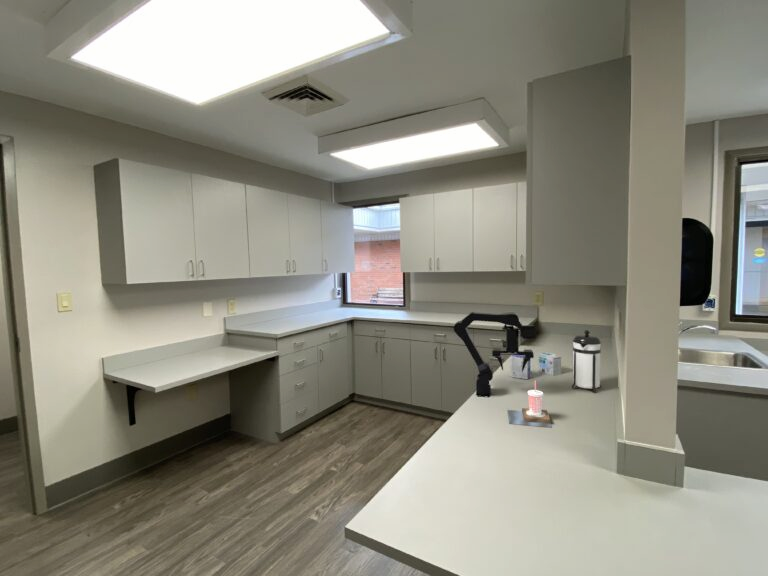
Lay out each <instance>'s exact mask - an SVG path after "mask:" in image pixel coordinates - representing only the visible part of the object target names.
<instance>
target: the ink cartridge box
mask: <svg viewBox="0 0 768 576" xmlns="http://www.w3.org/2000/svg"><path fill="white" fill-rule="evenodd" d="M522 363H523V355H510V376H511V378H515V377H516V378H517V379H521V378H522V379H523V380H529V379H531V359H530V360H528V361H527V363H526V365H525V367H524V370H523V371H522ZM516 378H515V379H516ZM522 379H521V380H522Z"/></svg>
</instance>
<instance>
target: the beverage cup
mask: <svg viewBox="0 0 768 576" xmlns="http://www.w3.org/2000/svg"><path fill="white" fill-rule="evenodd" d="M527 395H528V407H529V408H528V409H529V412H530V414H532V415H541V410H543V409H542V408H543V407H542V406H543V396H544V392H543V391H541V390H537V381H536V380H534V389H529V390H527Z"/></svg>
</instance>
